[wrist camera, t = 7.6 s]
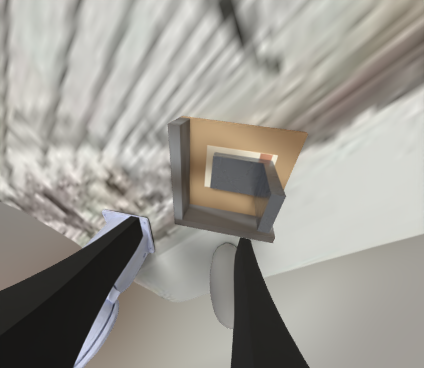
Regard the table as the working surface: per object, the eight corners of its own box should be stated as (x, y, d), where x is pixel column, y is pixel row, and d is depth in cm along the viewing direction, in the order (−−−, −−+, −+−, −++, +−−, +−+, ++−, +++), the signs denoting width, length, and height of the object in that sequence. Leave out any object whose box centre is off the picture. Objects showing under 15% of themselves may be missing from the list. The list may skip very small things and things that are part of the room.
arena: (268, 220, 21) (272, 243, 18) (183, 205, 22) (174, 223, 19) (305, 132, 14) (322, 144, 11) (182, 116, 15) (167, 124, 12)
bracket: (272, 160, 16) (285, 196, 11) (261, 191, 18) (268, 233, 13) (214, 152, 16) (202, 182, 11) (211, 183, 18) (199, 219, 14)
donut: (248, 266, 28) (250, 342, 20) (229, 266, 29) (224, 339, 21) (234, 228, 23) (230, 308, 15) (213, 230, 24) (197, 306, 16)
